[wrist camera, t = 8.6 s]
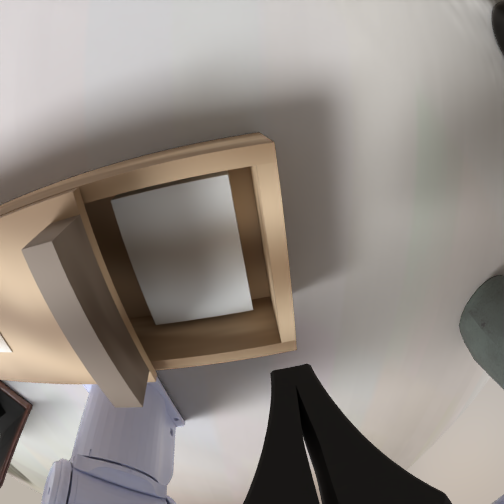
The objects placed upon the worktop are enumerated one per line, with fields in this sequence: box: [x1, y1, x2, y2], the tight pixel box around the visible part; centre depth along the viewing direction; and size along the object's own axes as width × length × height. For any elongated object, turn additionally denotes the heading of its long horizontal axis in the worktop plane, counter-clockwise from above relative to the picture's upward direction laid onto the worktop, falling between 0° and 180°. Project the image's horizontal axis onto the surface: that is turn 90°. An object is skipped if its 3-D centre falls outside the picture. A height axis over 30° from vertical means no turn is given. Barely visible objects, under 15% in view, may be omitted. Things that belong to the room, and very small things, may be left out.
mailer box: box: [0, 132, 297, 370], centre depth 16 cm, size 11×18×5 cm, turn 99°
